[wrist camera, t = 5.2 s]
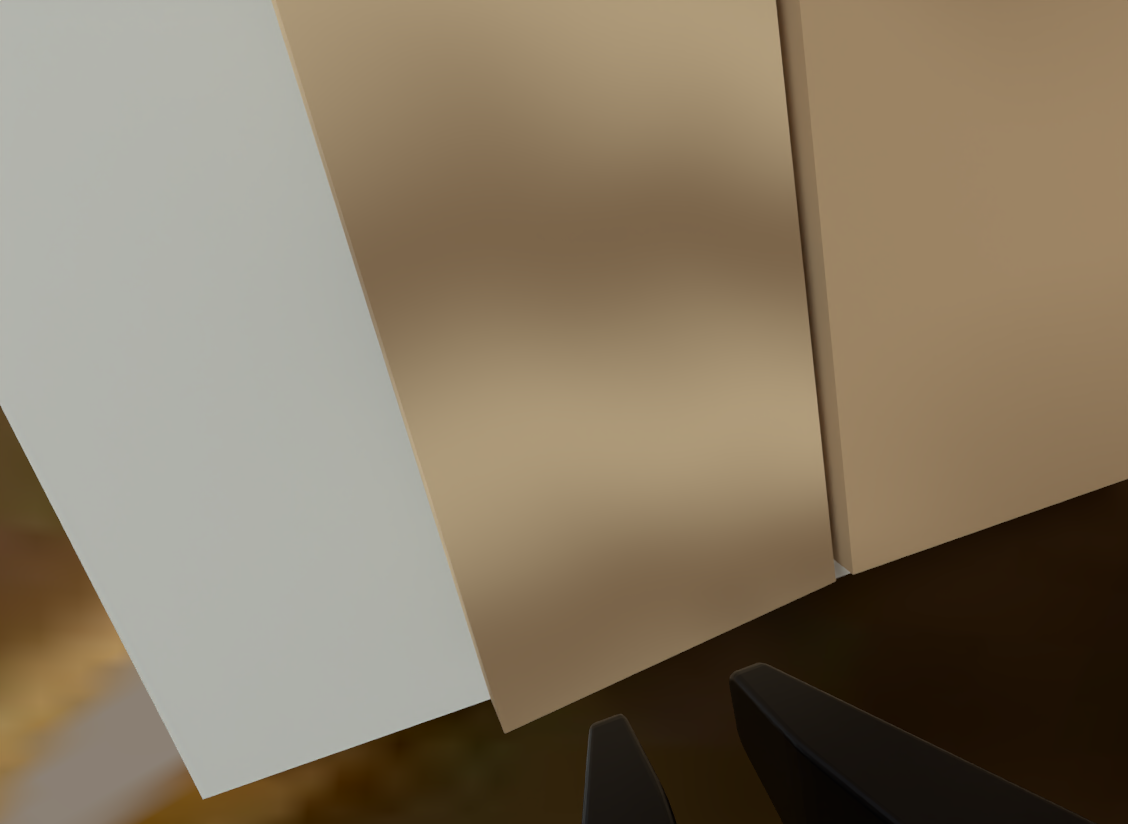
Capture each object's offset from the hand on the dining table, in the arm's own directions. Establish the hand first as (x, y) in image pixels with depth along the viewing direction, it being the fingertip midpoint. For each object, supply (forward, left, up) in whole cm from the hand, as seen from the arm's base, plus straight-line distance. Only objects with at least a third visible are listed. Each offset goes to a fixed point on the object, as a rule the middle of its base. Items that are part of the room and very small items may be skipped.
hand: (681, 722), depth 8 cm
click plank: (+5, -1, -5) cm, 7 cm away
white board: (+5, -2, -6) cm, 8 cm away
